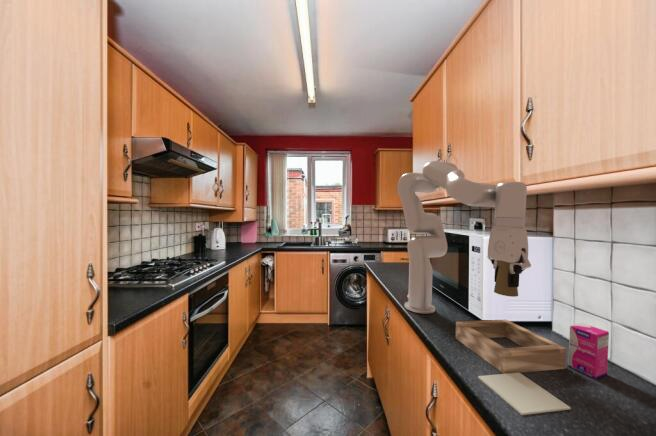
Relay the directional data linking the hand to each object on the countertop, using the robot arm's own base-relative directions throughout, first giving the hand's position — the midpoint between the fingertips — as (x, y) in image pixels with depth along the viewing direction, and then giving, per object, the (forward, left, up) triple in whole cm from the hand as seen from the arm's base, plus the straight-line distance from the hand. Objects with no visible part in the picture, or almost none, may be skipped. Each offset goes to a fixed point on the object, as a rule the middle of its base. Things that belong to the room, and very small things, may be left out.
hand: (506, 283), depth 76 cm
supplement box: (+11, +15, -21) cm, 28 cm away
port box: (0, 0, -20) cm, 20 cm away
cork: (0, 0, -3) cm, 3 cm away
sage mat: (+16, -11, -20) cm, 29 cm away
